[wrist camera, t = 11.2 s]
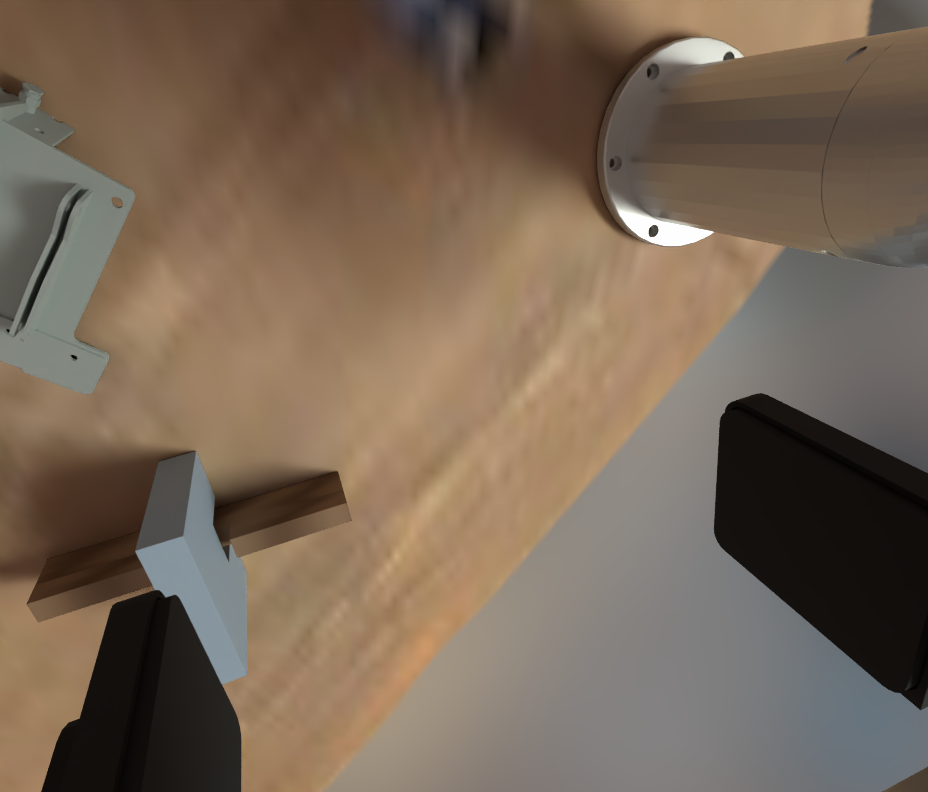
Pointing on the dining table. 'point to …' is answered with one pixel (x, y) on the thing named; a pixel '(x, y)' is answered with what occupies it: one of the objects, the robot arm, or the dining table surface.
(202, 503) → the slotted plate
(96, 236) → the metal bracket
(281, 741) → the dining table surface
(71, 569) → the walnut board
